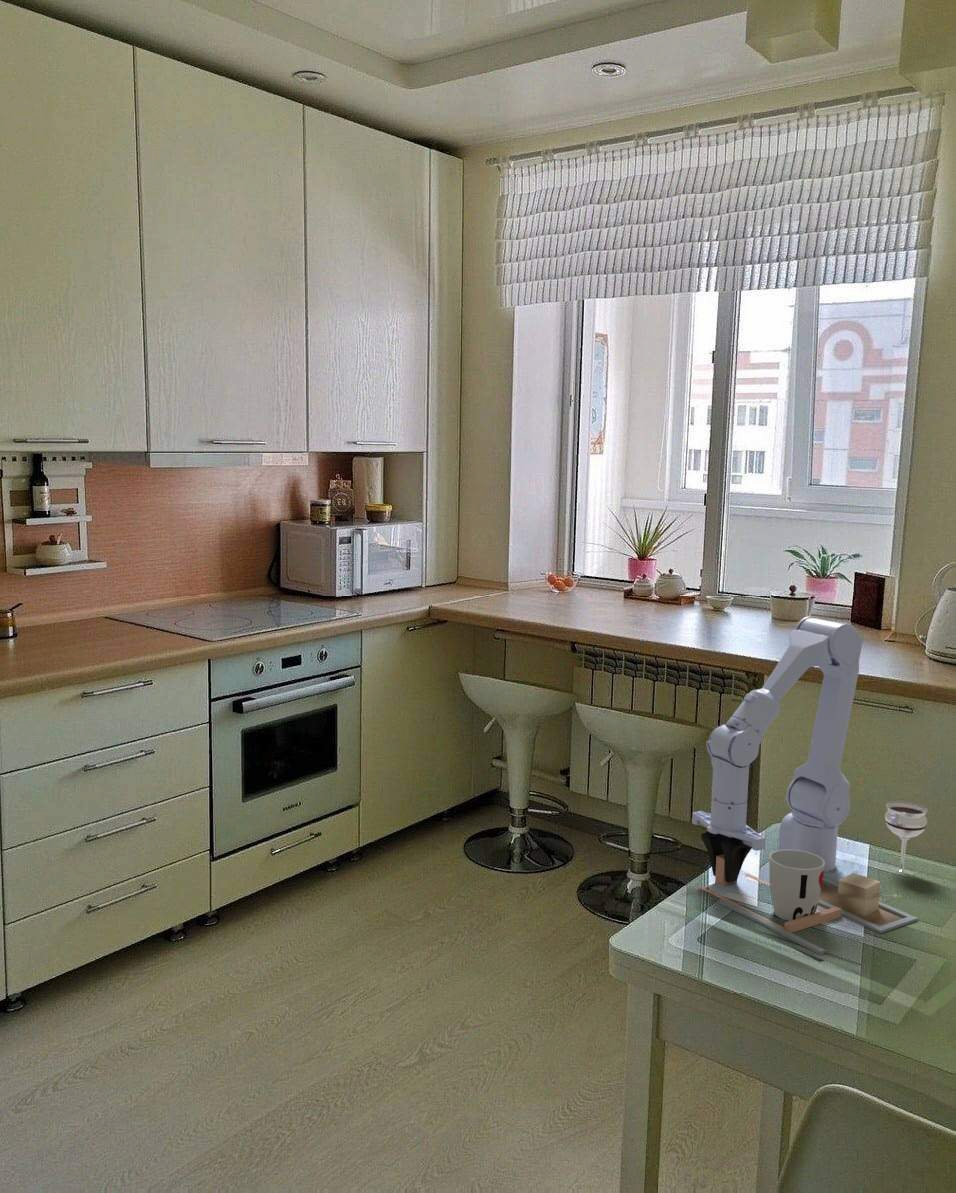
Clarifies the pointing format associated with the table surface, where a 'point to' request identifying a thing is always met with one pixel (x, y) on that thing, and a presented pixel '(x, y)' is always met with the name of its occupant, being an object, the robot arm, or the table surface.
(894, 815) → the wineglass
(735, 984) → the table surface
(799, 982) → the table surface
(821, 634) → the robot arm
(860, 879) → the beech cube
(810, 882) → the cup
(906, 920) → the lane frame
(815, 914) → the cup sled
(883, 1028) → the table surface
